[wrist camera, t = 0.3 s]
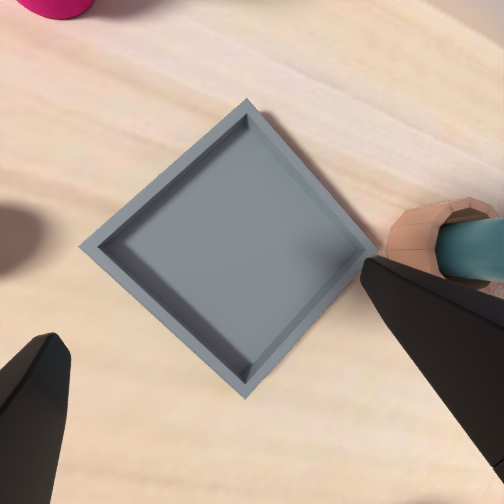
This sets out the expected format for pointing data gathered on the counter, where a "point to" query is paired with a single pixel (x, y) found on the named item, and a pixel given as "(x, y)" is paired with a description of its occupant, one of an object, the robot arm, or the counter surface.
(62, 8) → the pepper mill
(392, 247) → the terracotta cup
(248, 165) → the tray
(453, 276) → the spice jar
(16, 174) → the counter surface
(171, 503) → the counter surface
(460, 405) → the robot arm
